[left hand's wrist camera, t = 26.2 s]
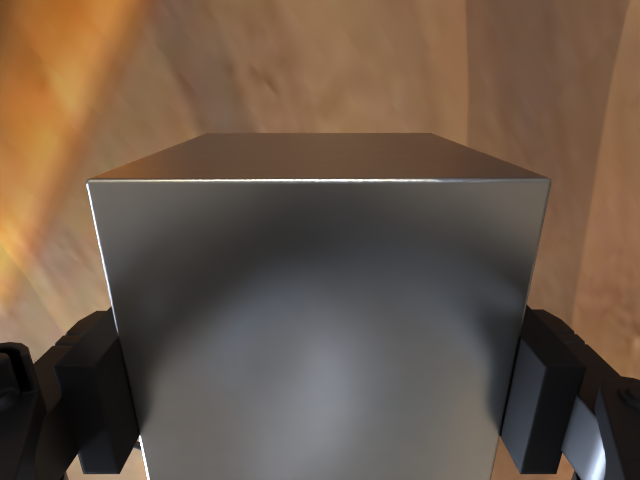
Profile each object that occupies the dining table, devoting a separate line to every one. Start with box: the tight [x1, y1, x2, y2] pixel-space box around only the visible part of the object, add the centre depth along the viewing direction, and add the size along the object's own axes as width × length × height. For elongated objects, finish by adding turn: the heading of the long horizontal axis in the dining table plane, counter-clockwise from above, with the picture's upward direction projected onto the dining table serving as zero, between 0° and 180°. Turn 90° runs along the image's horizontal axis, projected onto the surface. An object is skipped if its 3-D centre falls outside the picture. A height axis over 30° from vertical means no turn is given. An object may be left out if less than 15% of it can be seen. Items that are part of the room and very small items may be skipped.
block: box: [86, 133, 551, 480], centre depth 12 cm, size 9×8×8 cm
